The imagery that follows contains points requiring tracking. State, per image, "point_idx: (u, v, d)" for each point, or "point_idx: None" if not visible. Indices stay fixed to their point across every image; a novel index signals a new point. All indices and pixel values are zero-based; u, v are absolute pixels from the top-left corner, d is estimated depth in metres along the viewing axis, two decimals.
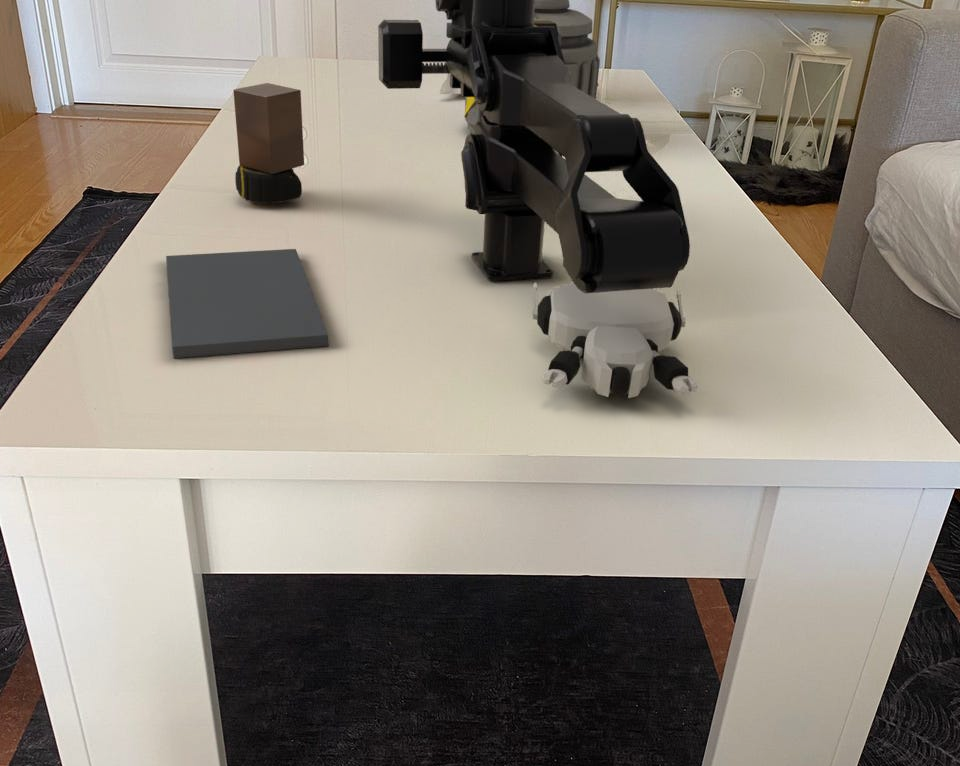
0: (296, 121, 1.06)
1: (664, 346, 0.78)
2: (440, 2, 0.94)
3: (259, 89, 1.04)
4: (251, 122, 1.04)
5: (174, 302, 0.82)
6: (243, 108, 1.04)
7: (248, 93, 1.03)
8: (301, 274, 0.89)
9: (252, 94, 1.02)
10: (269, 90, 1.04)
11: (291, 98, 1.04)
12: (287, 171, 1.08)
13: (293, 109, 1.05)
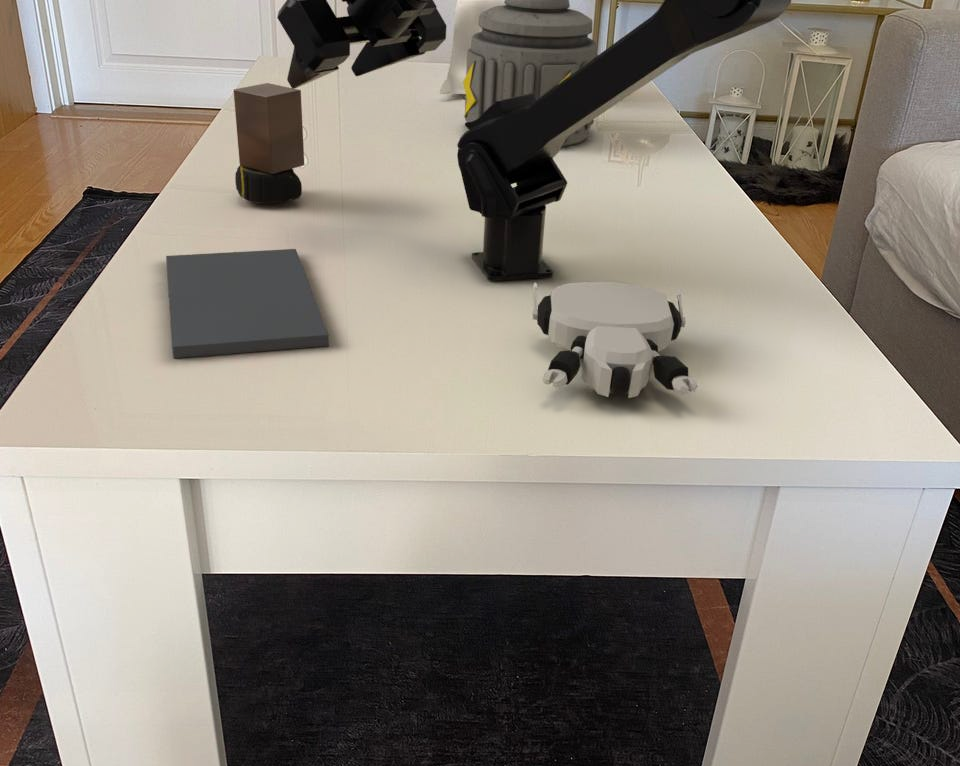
0: (296, 121, 1.06)
1: (664, 346, 0.78)
2: None
3: (259, 89, 1.04)
4: (252, 122, 1.04)
5: (174, 302, 0.82)
6: (243, 108, 1.04)
7: (248, 93, 1.03)
8: (301, 274, 0.89)
9: (252, 94, 1.02)
10: (269, 90, 1.04)
11: (291, 98, 1.04)
12: (287, 171, 1.08)
13: (293, 109, 1.05)
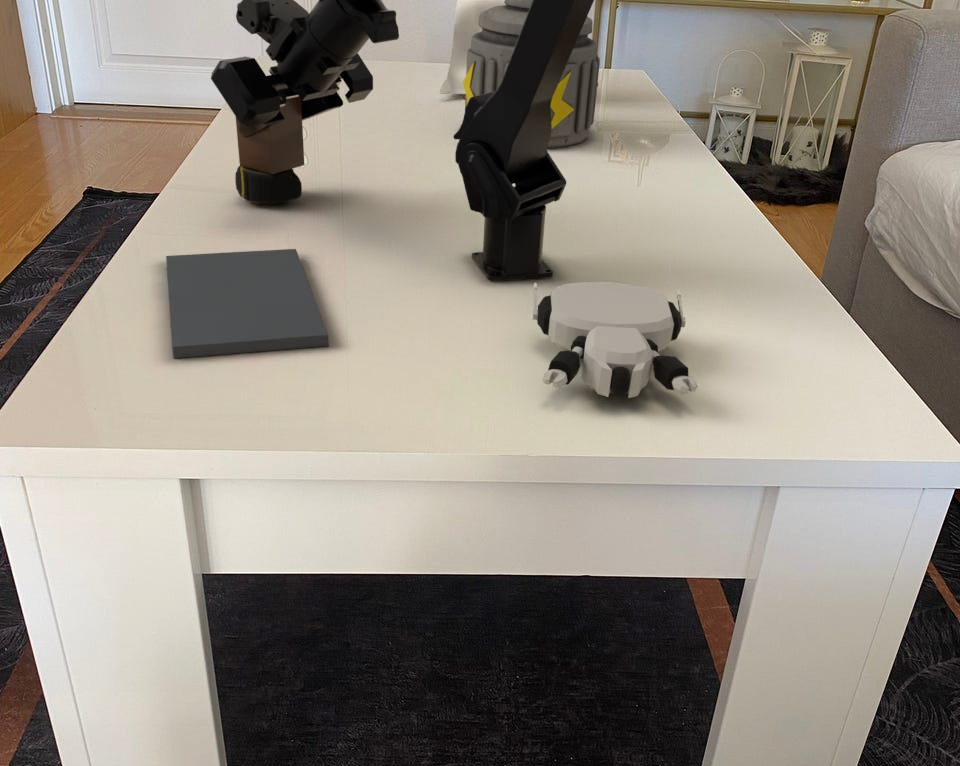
0: (296, 121, 1.06)
1: (664, 346, 0.78)
2: (255, 15, 0.96)
3: None
4: None
5: (174, 302, 0.82)
6: None
7: None
8: (301, 274, 0.89)
9: None
10: None
11: (291, 98, 1.04)
12: (287, 171, 1.08)
13: (293, 109, 1.05)
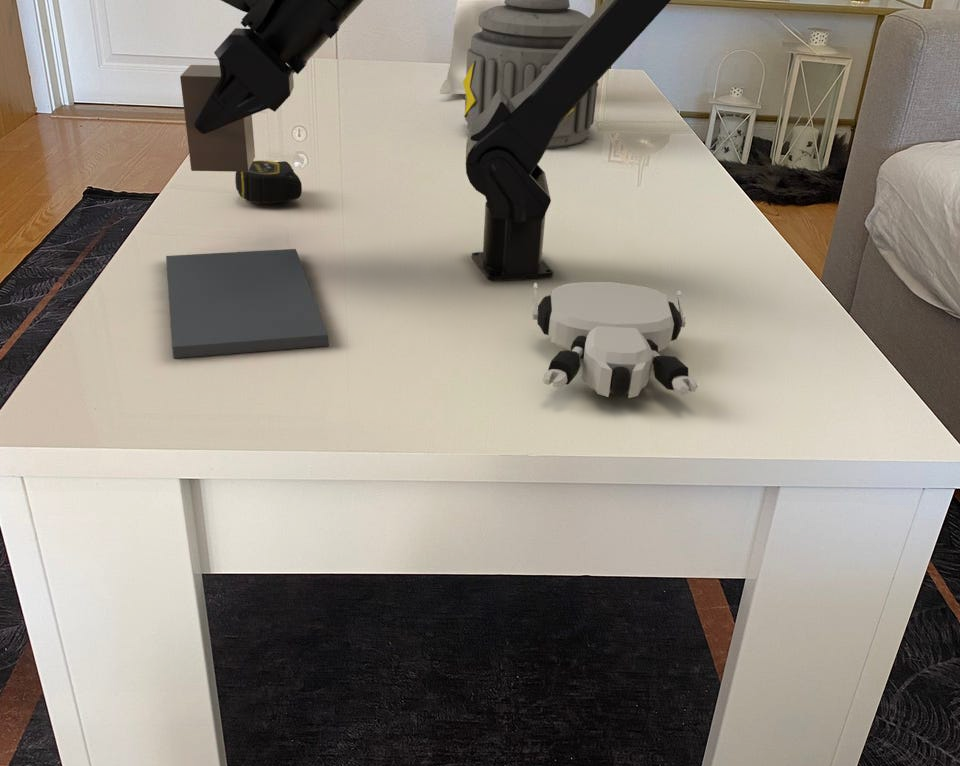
0: None
1: (664, 346, 0.78)
2: None
3: (207, 71, 0.85)
4: None
5: (174, 302, 0.82)
6: (198, 97, 0.84)
7: (207, 77, 0.83)
8: (301, 274, 0.89)
9: (214, 77, 0.83)
10: (220, 71, 0.85)
11: None
12: (287, 171, 1.08)
13: None
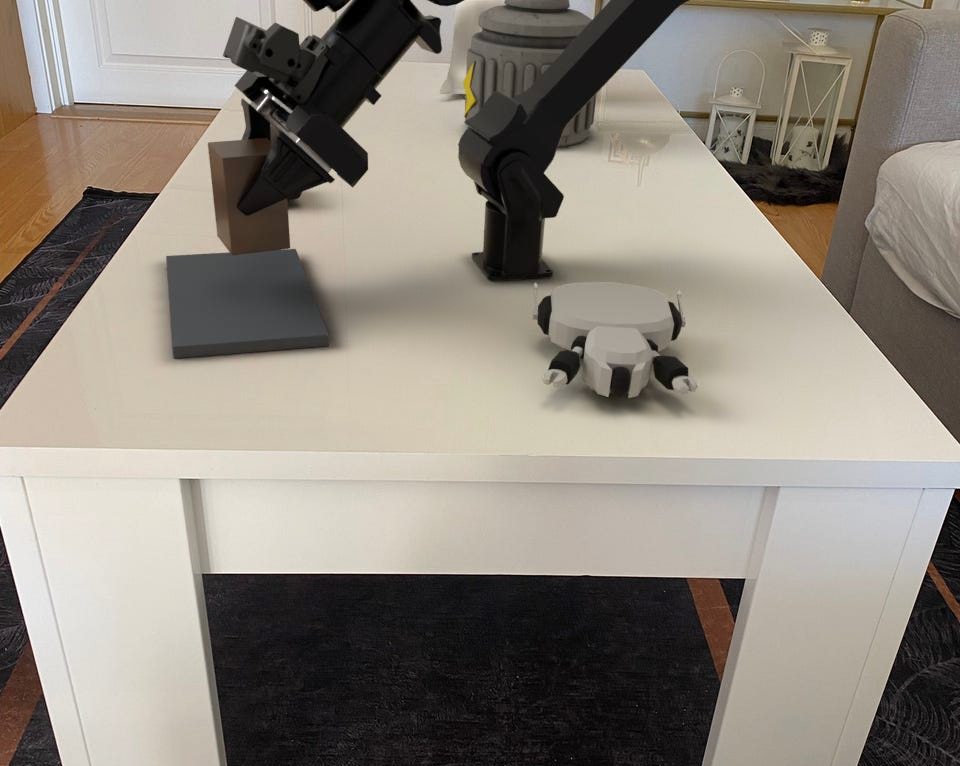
0: None
1: (664, 346, 0.78)
2: (296, 51, 0.74)
3: (240, 149, 0.79)
4: None
5: (174, 302, 0.82)
6: (241, 178, 0.78)
7: (251, 156, 0.78)
8: (301, 274, 0.89)
9: (258, 156, 0.78)
10: (252, 147, 0.80)
11: None
12: None
13: None
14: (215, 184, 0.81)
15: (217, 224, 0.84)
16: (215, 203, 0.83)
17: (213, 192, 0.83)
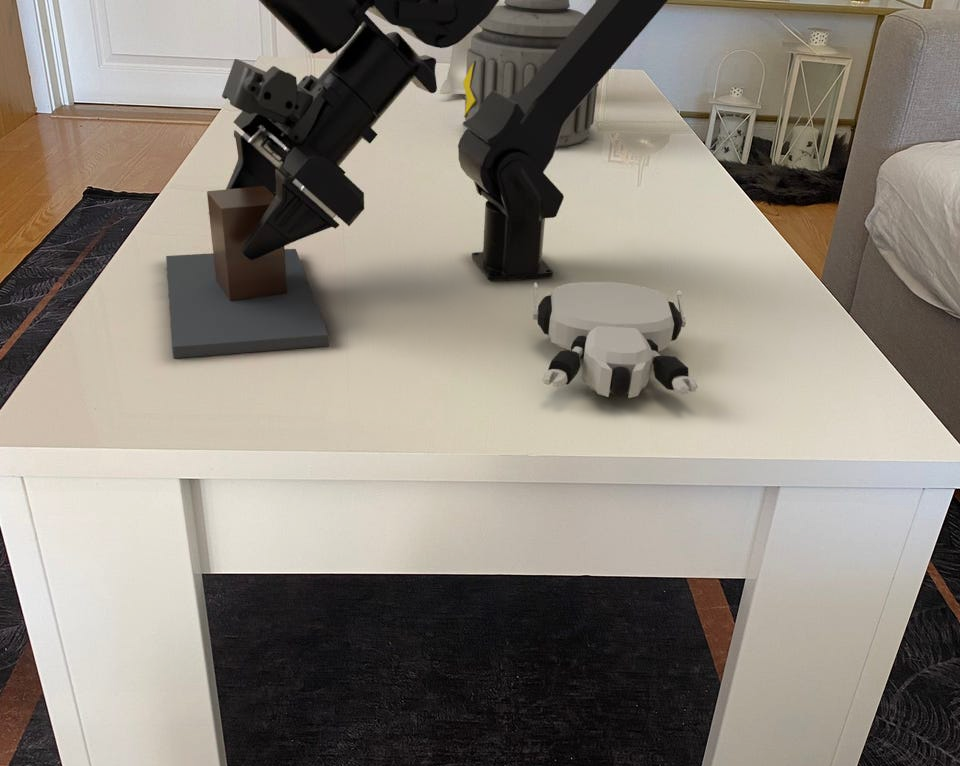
0: None
1: (664, 346, 0.78)
2: (294, 93, 0.75)
3: (238, 199, 0.81)
4: None
5: (174, 302, 0.82)
6: (240, 227, 0.80)
7: (249, 206, 0.80)
8: (301, 274, 0.89)
9: (256, 206, 0.80)
10: (250, 196, 0.82)
11: None
12: (287, 171, 1.08)
13: None
14: (214, 231, 0.83)
15: (216, 269, 0.86)
16: (214, 249, 0.85)
17: (212, 239, 0.85)
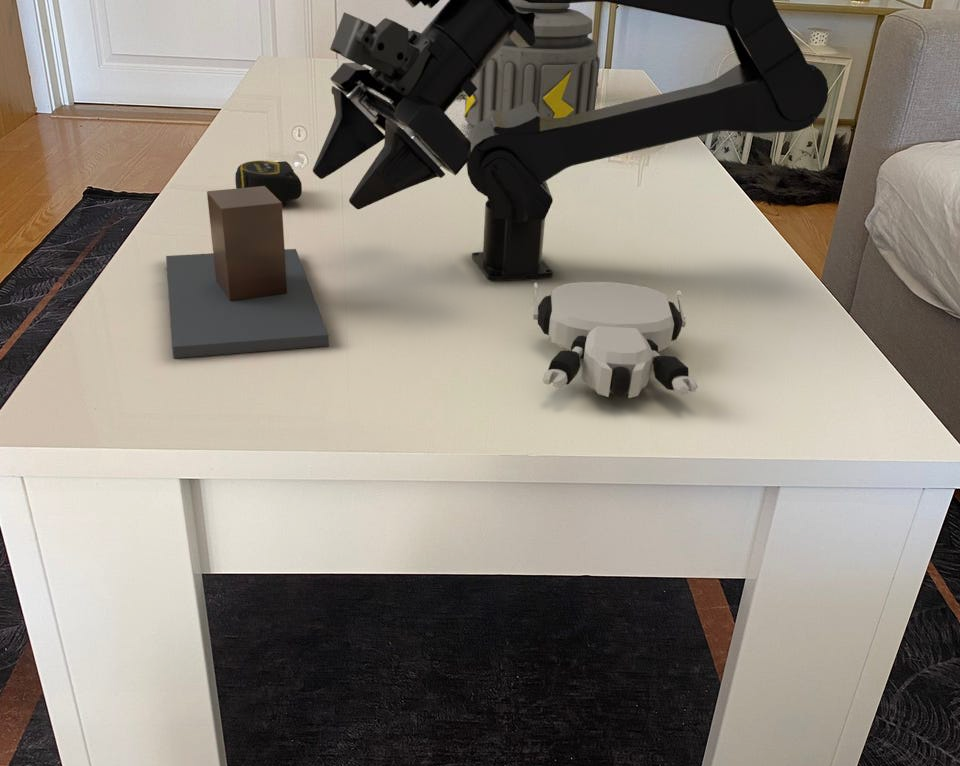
0: None
1: (664, 346, 0.78)
2: (405, 45, 0.78)
3: (238, 199, 0.81)
4: (254, 241, 0.82)
5: (174, 302, 0.82)
6: (240, 227, 0.80)
7: (249, 206, 0.80)
8: (301, 274, 0.89)
9: (256, 206, 0.80)
10: (250, 196, 0.82)
11: None
12: (287, 171, 1.08)
13: None
14: (214, 231, 0.83)
15: (216, 269, 0.86)
16: (214, 249, 0.85)
17: (212, 239, 0.85)
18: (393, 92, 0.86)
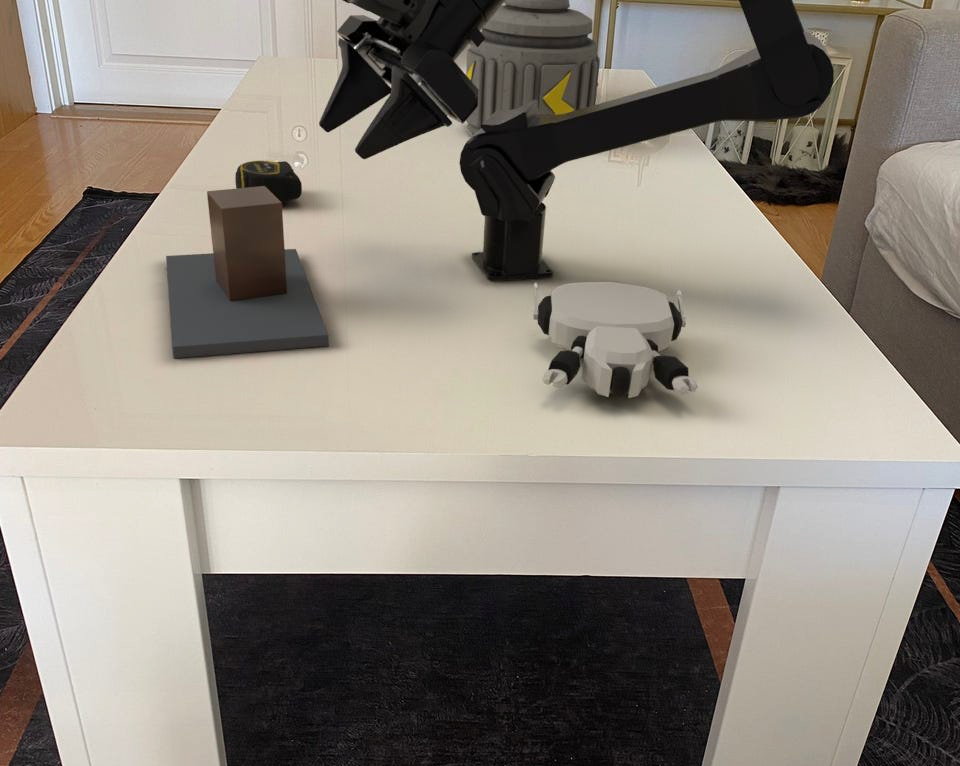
0: None
1: (664, 346, 0.78)
2: None
3: (238, 199, 0.81)
4: (254, 241, 0.82)
5: (174, 302, 0.82)
6: (240, 227, 0.80)
7: (249, 206, 0.80)
8: (301, 274, 0.89)
9: (256, 206, 0.80)
10: (250, 196, 0.82)
11: None
12: (287, 171, 1.08)
13: None
14: (214, 231, 0.83)
15: (216, 269, 0.86)
16: (214, 249, 0.85)
17: (212, 239, 0.85)
18: (400, 43, 0.85)
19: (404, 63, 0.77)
